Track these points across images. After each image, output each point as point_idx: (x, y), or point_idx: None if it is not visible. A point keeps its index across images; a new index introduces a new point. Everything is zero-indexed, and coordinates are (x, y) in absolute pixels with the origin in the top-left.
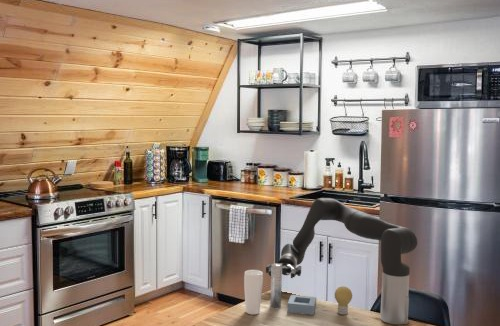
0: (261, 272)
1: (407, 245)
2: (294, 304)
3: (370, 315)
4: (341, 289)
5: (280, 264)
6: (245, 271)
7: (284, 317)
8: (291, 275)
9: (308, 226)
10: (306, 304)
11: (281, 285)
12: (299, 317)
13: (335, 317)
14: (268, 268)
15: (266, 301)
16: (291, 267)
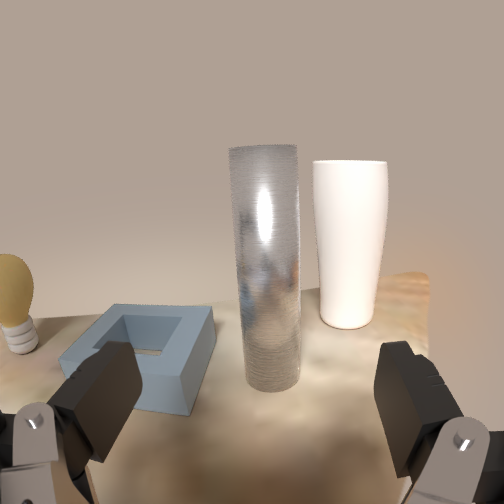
0: (323, 164)
1: None
2: (183, 307)
3: None
4: (12, 255)
5: (239, 147)
6: (383, 161)
7: (227, 315)
8: (129, 361)
9: None
10: (136, 307)
11: (237, 273)
12: None
13: (62, 330)
14: (500, 438)
15: (337, 413)
16: (40, 461)
